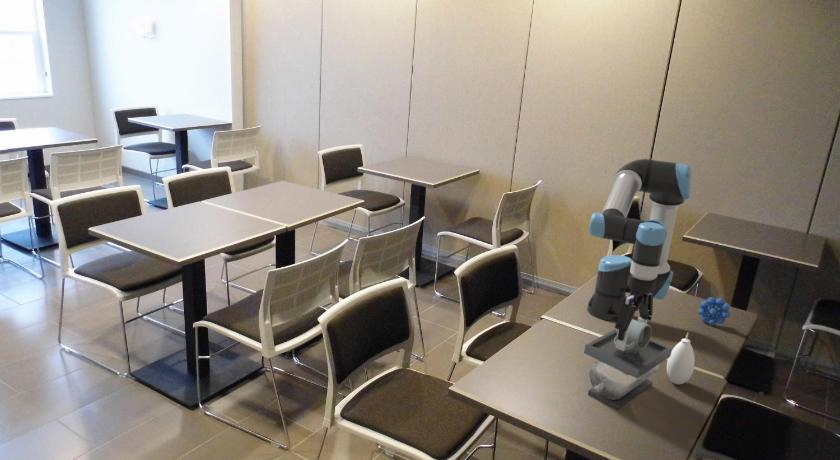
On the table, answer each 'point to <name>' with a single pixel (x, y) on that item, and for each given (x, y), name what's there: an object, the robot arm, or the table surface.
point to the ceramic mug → (637, 335)
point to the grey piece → (622, 369)
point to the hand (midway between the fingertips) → (629, 343)
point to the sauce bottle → (681, 362)
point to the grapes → (714, 311)
